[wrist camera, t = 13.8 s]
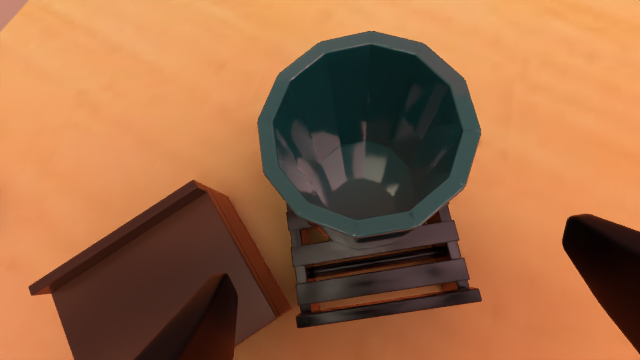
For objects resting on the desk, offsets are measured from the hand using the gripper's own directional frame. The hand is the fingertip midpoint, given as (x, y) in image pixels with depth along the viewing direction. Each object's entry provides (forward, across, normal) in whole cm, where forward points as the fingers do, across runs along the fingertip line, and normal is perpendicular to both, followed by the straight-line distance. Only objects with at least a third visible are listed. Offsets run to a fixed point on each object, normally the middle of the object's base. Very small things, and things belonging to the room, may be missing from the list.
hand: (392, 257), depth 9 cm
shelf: (+9, +13, +9) cm, 18 cm away
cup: (+9, 0, +4) cm, 10 cm away
